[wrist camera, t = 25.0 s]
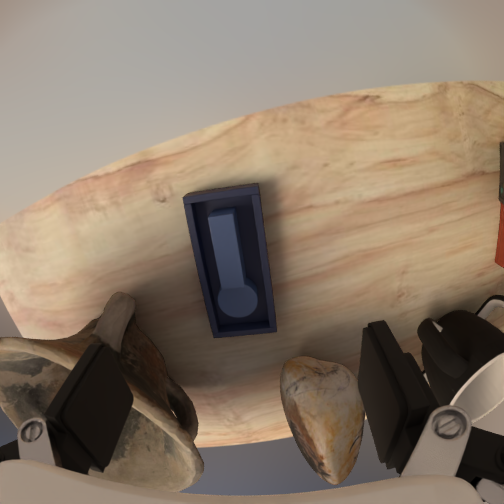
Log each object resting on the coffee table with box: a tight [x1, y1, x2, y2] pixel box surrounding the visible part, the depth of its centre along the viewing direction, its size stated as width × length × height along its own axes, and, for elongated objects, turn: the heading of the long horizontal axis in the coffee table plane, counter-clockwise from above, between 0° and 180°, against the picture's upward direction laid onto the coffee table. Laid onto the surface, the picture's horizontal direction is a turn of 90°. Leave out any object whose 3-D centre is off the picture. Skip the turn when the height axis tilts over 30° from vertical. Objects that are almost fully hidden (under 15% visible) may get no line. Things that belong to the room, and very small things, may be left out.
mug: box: [417, 295, 504, 423], centre depth 29 cm, size 16×16×12 cm
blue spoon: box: [208, 207, 258, 318], centre depth 29 cm, size 11×4×3 cm, turn 8°
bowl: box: [0, 292, 204, 492], centre depth 30 cm, size 27×26×15 cm
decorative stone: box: [280, 356, 365, 485], centre depth 30 cm, size 18×9×15 cm, turn 18°
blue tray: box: [183, 183, 277, 338], centre depth 30 cm, size 15×7×2 cm, turn 8°
